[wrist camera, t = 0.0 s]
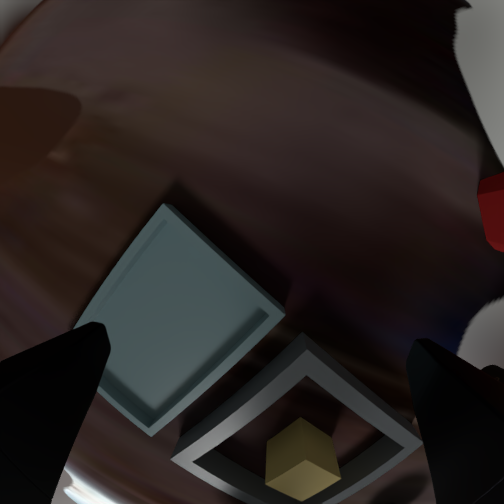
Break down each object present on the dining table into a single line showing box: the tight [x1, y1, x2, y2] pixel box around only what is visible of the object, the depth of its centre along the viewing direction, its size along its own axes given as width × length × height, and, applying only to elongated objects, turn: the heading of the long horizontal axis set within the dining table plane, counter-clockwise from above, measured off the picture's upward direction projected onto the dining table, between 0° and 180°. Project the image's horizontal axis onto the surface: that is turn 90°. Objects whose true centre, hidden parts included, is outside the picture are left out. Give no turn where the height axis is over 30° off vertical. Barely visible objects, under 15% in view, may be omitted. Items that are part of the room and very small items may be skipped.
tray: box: [74, 203, 285, 437], centre depth 23 cm, size 18×12×2 cm, turn 138°
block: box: [265, 417, 341, 501], centre depth 22 cm, size 4×4×6 cm
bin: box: [170, 332, 423, 504], centre depth 23 cm, size 17×17×4 cm
